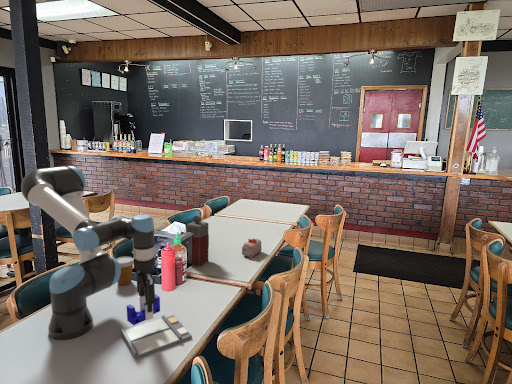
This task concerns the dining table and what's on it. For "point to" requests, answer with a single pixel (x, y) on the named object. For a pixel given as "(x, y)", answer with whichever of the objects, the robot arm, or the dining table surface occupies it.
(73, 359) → the dining table surface
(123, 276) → the disposable coffee cup
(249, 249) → the food item
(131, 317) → the cable clip
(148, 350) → the board
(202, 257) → the dark red bottle
